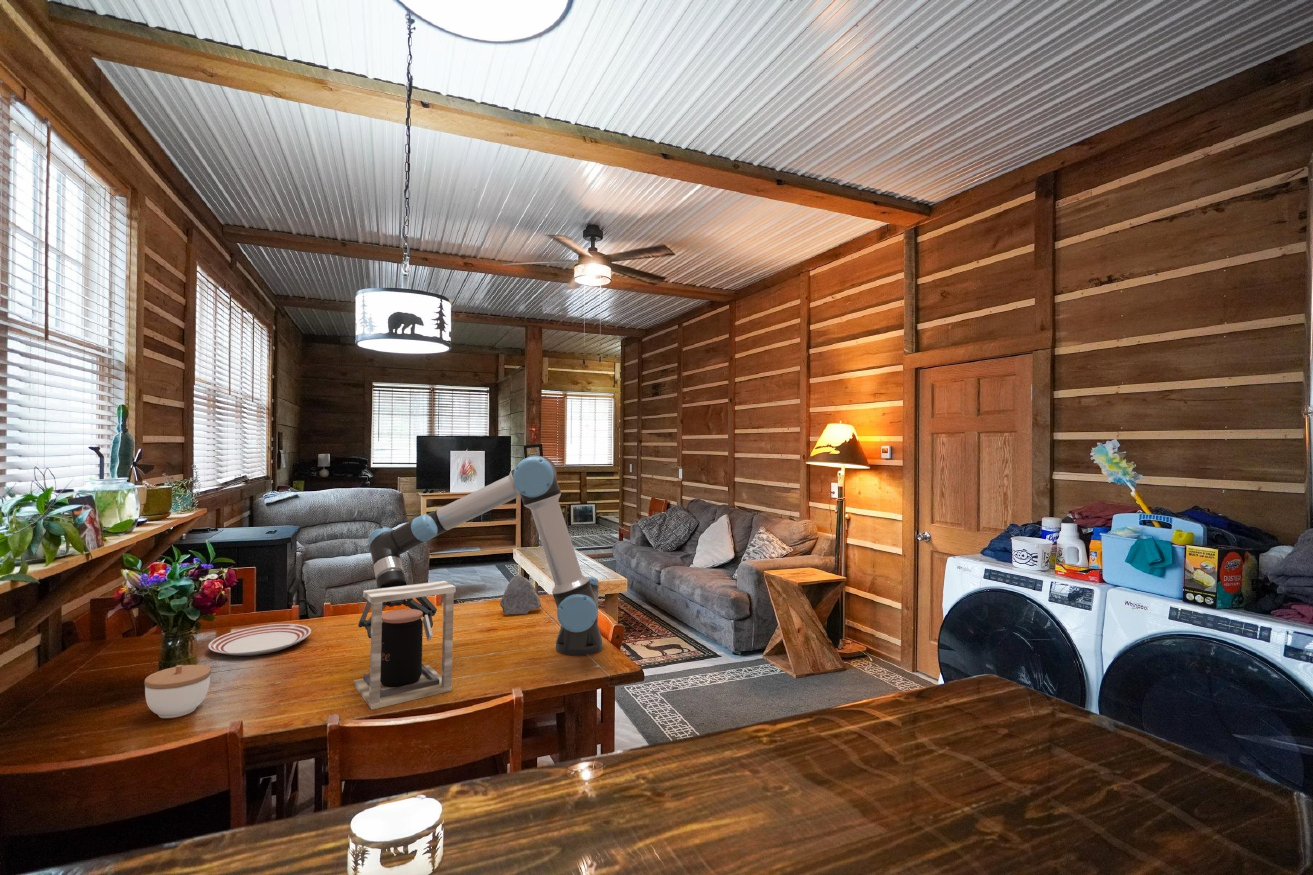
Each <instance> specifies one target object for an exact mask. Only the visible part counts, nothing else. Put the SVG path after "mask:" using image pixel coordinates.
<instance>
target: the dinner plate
mask: <svg viewBox="0 0 1313 875" xmlns="http://www.w3.org/2000/svg"><path fill="white" fill-rule="evenodd" d="M311 633H312V629H311V628H310V627H308V626H307V625H303V624H296V623H295V624H294V623H276V624H275V623H274V624H266V625H259V626H258V625H257V626H252V627H247V628H241V629H239V630H235V631H231V632H229V633H225V634H222V635H220V636H218V637H216V638H214V639H213V640H211V641H210V642H209V643H208V645H207V648H208V649H209V650H210V651H212V652H213V653H219V654H224V655H231V656H240V657H241V656H242V657H246V656H258V655H266V654H271V653H274V652H275V653H276V652H279V651H282V650H286V649H287V648H289V647H291V646H293V645H296V644H298V643H300V642H301V641H303V640H305V639H306V638H307V637H309V635H311Z"/></svg>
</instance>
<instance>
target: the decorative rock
mask: <svg viewBox="0 0 1313 875" xmlns="http://www.w3.org/2000/svg"><path fill="white" fill-rule="evenodd" d="M499 606H500V607H501V610H502V612H503V614H504V615H528V614H529V611H531V610H537V609H540V608H541V606H542V603H541V600H540V596H539V594H538V593H537V589H536V588H535V586H534V585H533V584H532V582H531V581H530V580H529V579H527V577H524V576H522V574H518V575H515V576H513V577H512V578H511V579H510V580H509V583H508V584H507V587H506V588H505V590H504V593H503V595H502V598H501V599H500V603H499Z"/></svg>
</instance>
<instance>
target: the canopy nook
mask: <svg viewBox="0 0 1313 875" xmlns="http://www.w3.org/2000/svg"><path fill="white" fill-rule="evenodd" d="M455 593H457V586H455V585H453V584H452V583H451V582H448V581H446V580H441V581H438V580H437V581H433V582H423V583H422V582H421V583H416V584H415V583H413V584H407V585H406V586H398V587H390V588H382V589H378V588H375V589H368V590H367V589H366V590H363V592H362V597H363V598H364V599H365V600H366V601H367V600H368V601H369V602H370V603H371V610H370V611H371V615H370V617H371V638H370V648H369V649H370V655H369V657H370V658H369V673H365V674H363V675H362V676H363V677H362V678H360V679H355V680H353V686H354V688H355V689H356V691H357V692H358V693H359V695H360V697H362V699H363V700H364V702H365V703H366V704H367V706H368V707H369V708H370V710H372V711H373V710H377V709H381V708H384V707H385V708H386V707H390V706H393V705H397V704H402V703H405V702H406V703H407V702H411V701H414V700H419V699H422V698H427V697H431V696H435V695H440V694H444V693H448V692H453V685H452V683H453V682H452V679H453V647H454V646H453V638H454V636H453V635H454V605H455V604H454V601H455V600H454V599H455V597H454V596H455ZM438 595H443V607H442V609H443V611H442V616H443V617H442V620H443V621H442V644H441V646H442V649H441V650H442V651H441V652H442V655H441V656H442V657H441V674H440V673H438V672H437V671H436V670H435V669H434V668H433V667H431V665H430V664H428V665H424V664H423V663H422V674H421V676H420V678H419V680H418V681H417V682H415V683H413V684H410V685H405V686H401V687H386V686H384V685H382V683H381V682H380V675H381V636H382V614H383V611H382V602H388V601H395V600H402V599H410V598H412V599H416V598H417V597H424V596H426V597H431V596H438Z"/></svg>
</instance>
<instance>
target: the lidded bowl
mask: <svg viewBox="0 0 1313 875" xmlns="http://www.w3.org/2000/svg"><path fill="white" fill-rule="evenodd" d="M211 673H212V668H211V667H210V666H208V665H205V664H185V665H183V664H177V665H175V666H173V667H169V668H164V669H161V670H159V671H156V672H153V673H151V674H150V675H148V676H146V678H145V679H144V695H145V701H146V705H147V707H148V708H149V709H150V711H151V712H153V713H154V714H156V715H158V716H157V717H158V718H161V719H175V718H179V717H183V716H187V715H189V714H192V713H193V712H195V711H196V710H197V707H198V706H200V704H201V703H202V702H204V700H205V698H206V696H207V695H208V693H209V689H210V684H211V675H212V674H211Z"/></svg>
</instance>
